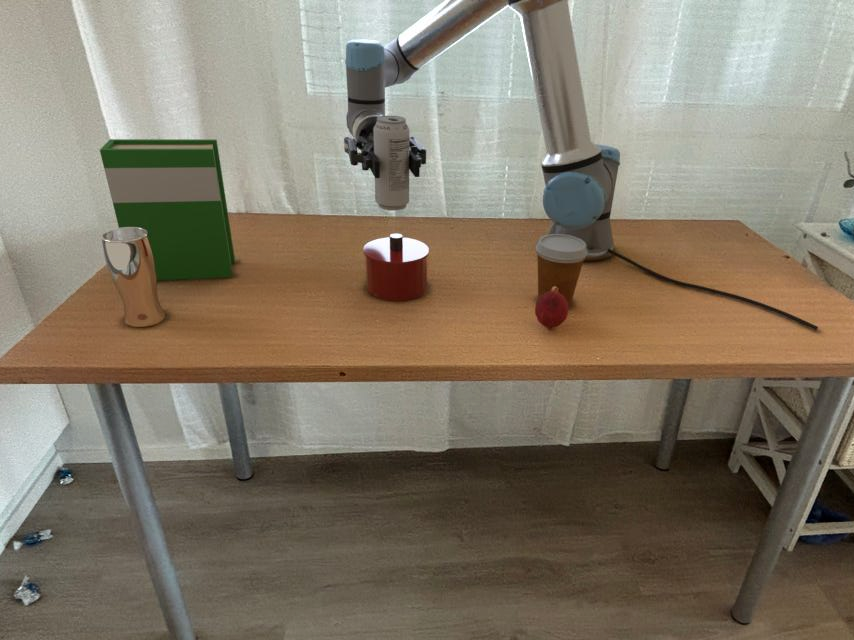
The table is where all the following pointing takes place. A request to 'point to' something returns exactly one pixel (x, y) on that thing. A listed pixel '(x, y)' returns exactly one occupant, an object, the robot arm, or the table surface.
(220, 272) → the hardback book
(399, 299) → the pot
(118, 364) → the table surface
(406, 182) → the energy drink can
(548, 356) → the table surface
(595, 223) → the robot arm
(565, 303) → the onion
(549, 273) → the disposable coffee cup
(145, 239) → the beer glass
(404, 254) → the pot lid
